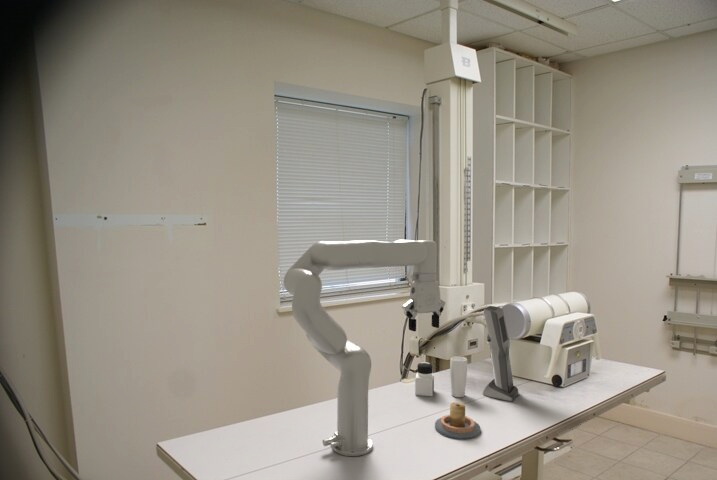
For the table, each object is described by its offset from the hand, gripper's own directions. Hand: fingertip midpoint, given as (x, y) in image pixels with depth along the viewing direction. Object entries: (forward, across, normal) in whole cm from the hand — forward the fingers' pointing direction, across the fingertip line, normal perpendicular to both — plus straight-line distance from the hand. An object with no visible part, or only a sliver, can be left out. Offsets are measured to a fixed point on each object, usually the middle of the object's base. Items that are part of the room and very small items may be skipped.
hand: (424, 328), depth 152 cm
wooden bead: (+33, +11, -5) cm, 35 cm away
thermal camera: (+34, +48, +9) cm, 60 cm away
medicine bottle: (+34, +22, +26) cm, 48 cm away
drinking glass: (+34, +32, +17) cm, 50 cm away
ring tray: (+34, +11, -5) cm, 36 cm away
